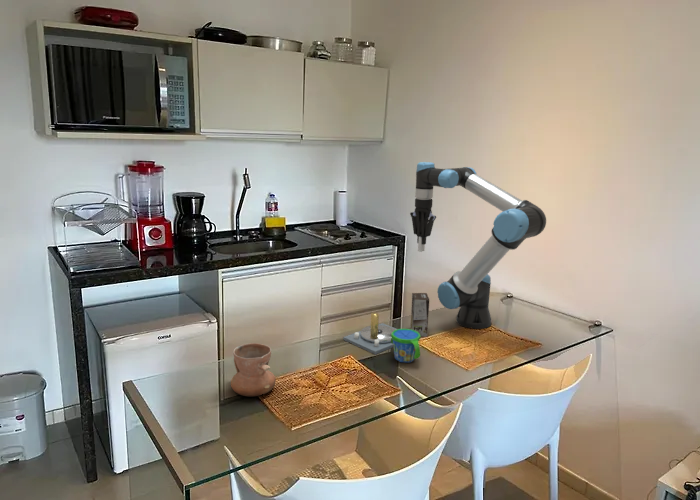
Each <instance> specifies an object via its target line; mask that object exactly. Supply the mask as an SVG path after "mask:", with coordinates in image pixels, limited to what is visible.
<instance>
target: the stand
mask: <svg viewBox="0 0 700 500" xmlns="http://www.w3.org/2000/svg"><path fill="white" fill-rule="evenodd" d="M378 325H382V326H388V327H391V328H394V329H395V330H397V329H398V328H396V327H393V326H390V325H389V324H386V323H384V322H382V323H378ZM342 338H343V339H342V340H343V341H345V342H347V343H349V342H350V343H349V344H351V343H352V345H353V346H355V347H359V348H360V349H363V350H364V351H367V352H369V353H371V354H373V355H378V354H380V353H383V352H385V351H387V350H390V349H392V348H393V344H392V343H391V342H389V343H379V340H378V339H376V340H375V342H374V343H372V342H368V341H366V340H364V339H362V337H361V330H359V331H355V332H354V333H351V334H349V335H345V336H343V337H342Z"/></svg>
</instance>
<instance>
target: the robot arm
mask: <svg viewBox="0 0 700 500" xmlns="http://www.w3.org/2000/svg"><path fill="white" fill-rule="evenodd" d="M415 177H416V178H415V192H414V193H415V194H414V197H415V199H414V207H415V208H414V211H412V212H411V211H410V213H409V214H410V217H411V221H412V229H413V234H414V235H415V236H416V237H417V241H416V243H417V244H418V245H417V252H419V253H420V252H421V253H422V252H425V248H426V247H425V245H426V244H427V237H430V236H431V234H432V231H433V227H434V222H435V220H436V218H437V216H436V215H434V214H433V210H432V208H433V202H434V201H433V198H434V197H433V196H434V187H438V188H444V189H454V188H455V187H462V188H463V189H465V190H467V191H469V192H470V193H472V194H474V195H475V196H477V197H478V198H480V199H481V200H483V201H485V202H487V203H488V204H490V205H492V206H493V207H495V208H496V209H498V210H499V211H501V212H500V213H499V214H497V215H496V217H495V219H494V221H493V223H492V224H493V227H492V228H491V236H490V237H489V238H488V239H487V240H486V242H484V244H483V245H482V246H481V248H480V249H479V250H477V252H476V253H475V254H474V256H473V257H472V258H471V259H470V260H469V262H468V263H467V264H466V265H465V267H463V269H461V271H459V270H458V271H456V272H454V274H453V275H452V276H451V277H450V278H449V279H448V280H447V281H443V282H441V283H440V284H439V285H438V287H437V298H438V300H439V303H440V304H441V305H442V306H443V307H444V308H445V309H448V310H454V309H455V310H456V309H458V312H457V314H456V317H455V318H456V321H455V322H456V323H457V324H458V325H460V326H462V327H464V328H468V329H474V330H475V329H476V330H477V329H478V330H480V329H487V328H489V327H491V325H492V317H491V312H490V309H489V305H490V304H489V303H490V294H491V285H492V282H491V279H492V278H491V275H489V273H490V272H491V271H492V270H493V269H494V268H495V266H497V264H498V263H499V262H500V261H501V260H502V259H503V258H504V256H506V255H507V253H508V252H509V251H511V250H512V251H513V250H517V248H519V246H521V245H522V243H523V242H524V241H525V240H526V239H529V238H533V237H537V236H539V235H541V233H542V232H544V230H545V228H546V225H547V217H546V214H545V212H544V211H543V210H542V209H541V208H540V207H539V206H538V205H536V204H534V203H532V202H531V201H529V200H528V199H523V200H522V199H521V198H519V197H517V196H515V195H513V194H512V193H510V192H508V191H506V190H505V189H503V188H501V187H499V186H497V185H496V184H494V183H492V182H491V181H489V180H487V179H485V178H484V177H482V176H481V175H478V174H477V172H476V170H475V168H473V167H468V166H465V167H455V168H454V167H453V168H437V167H435V163H434V162H430V161H429V162H428V161H420V162H418V163H417V164H416V172H415Z"/></svg>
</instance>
